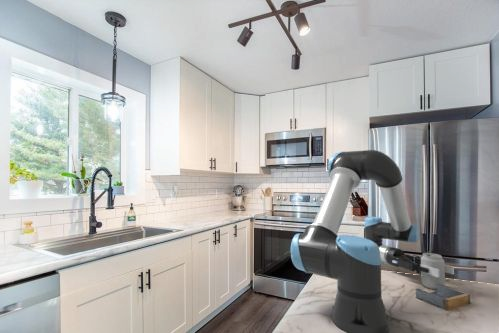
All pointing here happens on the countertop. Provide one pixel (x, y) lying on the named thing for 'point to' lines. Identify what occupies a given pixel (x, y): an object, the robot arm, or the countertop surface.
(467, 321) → the countertop surface
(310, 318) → the countertop surface
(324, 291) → the countertop surface
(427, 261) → the can
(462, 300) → the open rectangular tray
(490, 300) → the countertop surface
